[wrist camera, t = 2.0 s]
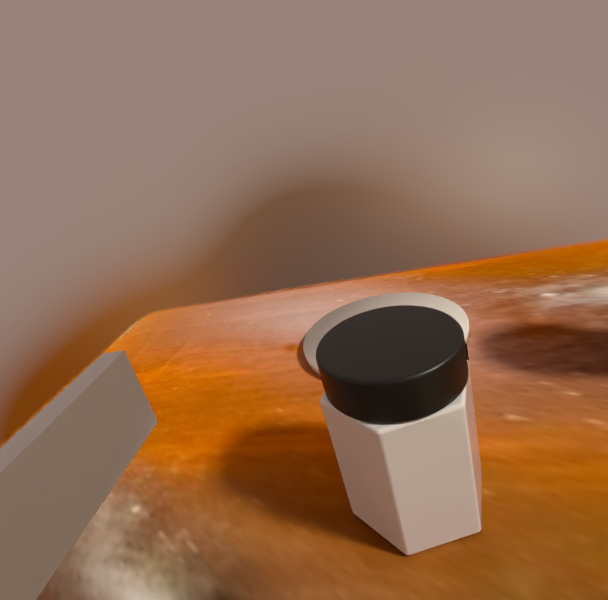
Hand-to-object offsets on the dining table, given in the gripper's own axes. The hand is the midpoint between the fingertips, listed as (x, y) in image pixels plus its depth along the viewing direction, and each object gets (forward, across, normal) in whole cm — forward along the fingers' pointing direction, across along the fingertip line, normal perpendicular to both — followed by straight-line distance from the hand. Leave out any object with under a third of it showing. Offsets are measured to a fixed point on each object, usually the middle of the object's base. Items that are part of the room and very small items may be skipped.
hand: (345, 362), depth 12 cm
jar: (+11, 0, -18) cm, 21 cm away
